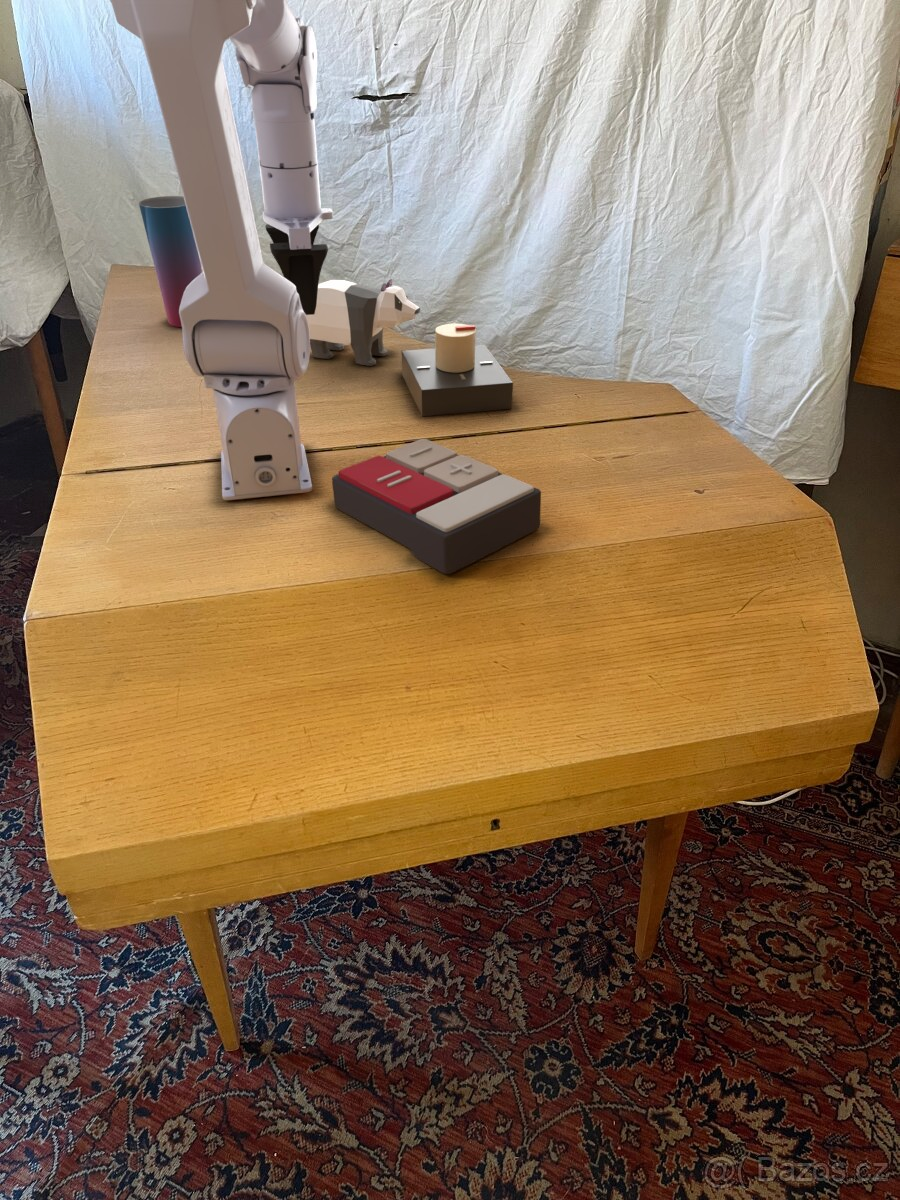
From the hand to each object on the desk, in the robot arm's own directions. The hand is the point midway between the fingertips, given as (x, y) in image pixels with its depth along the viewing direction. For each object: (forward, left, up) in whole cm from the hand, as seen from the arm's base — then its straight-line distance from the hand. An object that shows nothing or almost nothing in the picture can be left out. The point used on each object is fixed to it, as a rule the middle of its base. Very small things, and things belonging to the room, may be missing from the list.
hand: (301, 303), depth 93 cm
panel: (-5, -16, -9) cm, 19 cm away
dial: (-5, -16, -6) cm, 18 cm away
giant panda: (+8, -7, -10) cm, 14 cm away
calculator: (-32, -8, -10) cm, 34 cm away
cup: (+26, +14, -10) cm, 31 cm away
